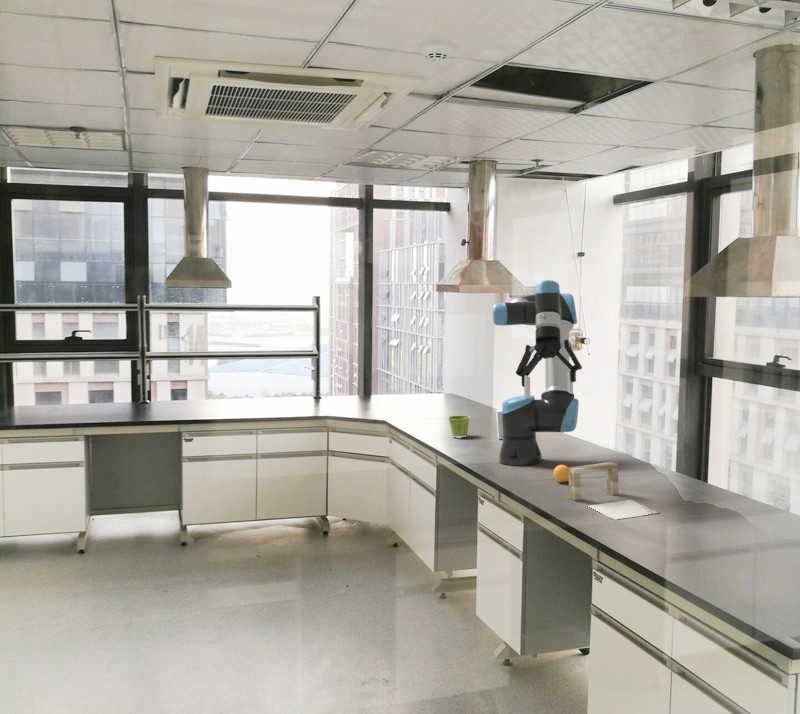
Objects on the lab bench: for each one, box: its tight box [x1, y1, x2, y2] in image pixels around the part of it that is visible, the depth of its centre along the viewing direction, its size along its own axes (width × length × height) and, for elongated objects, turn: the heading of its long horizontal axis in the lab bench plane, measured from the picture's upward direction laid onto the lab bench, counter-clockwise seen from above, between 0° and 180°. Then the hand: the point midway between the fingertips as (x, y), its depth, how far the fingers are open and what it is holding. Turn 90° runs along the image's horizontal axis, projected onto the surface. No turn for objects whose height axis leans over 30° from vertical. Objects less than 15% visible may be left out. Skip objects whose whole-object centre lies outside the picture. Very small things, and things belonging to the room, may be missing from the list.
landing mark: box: [587, 499, 651, 521], centre depth 207 cm, size 14×14×1 cm
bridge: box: [568, 461, 620, 501], centre depth 221 cm, size 3×14×9 cm, turn 106°
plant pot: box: [447, 414, 471, 436], centre depth 321 cm, size 9×9×9 cm
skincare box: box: [495, 409, 503, 440], centre depth 313 cm, size 6×4×12 cm
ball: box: [552, 464, 569, 483], centre depth 239 cm, size 6×6×6 cm
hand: (548, 394), depth 227 cm, fingers open, 13 cm apart
